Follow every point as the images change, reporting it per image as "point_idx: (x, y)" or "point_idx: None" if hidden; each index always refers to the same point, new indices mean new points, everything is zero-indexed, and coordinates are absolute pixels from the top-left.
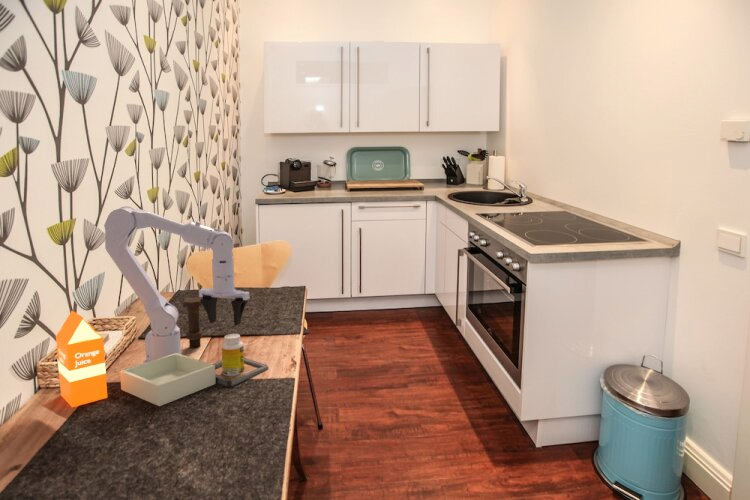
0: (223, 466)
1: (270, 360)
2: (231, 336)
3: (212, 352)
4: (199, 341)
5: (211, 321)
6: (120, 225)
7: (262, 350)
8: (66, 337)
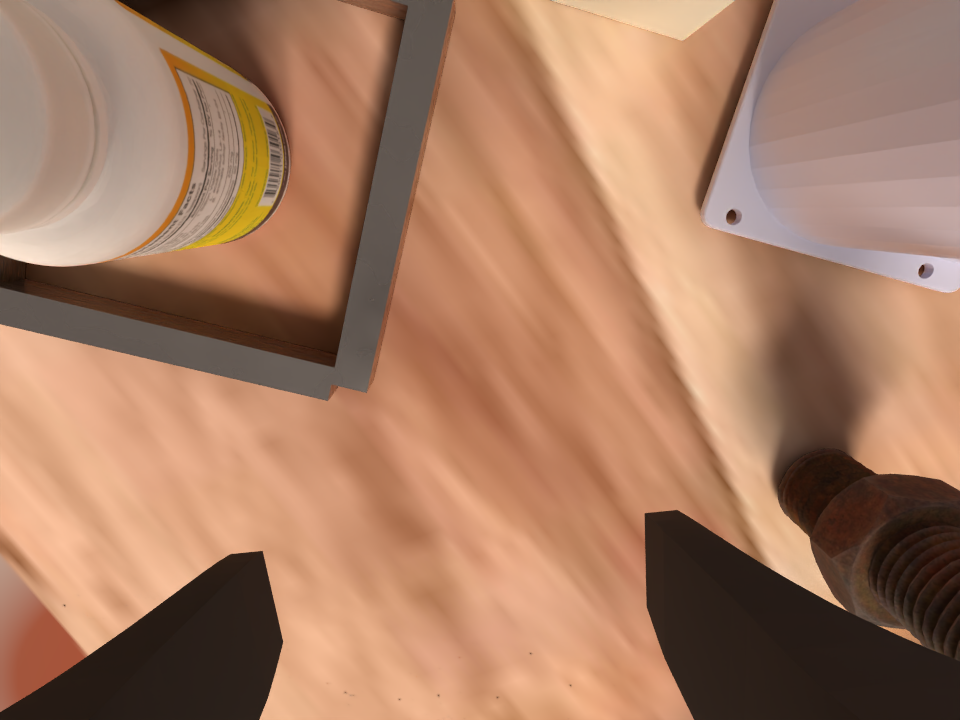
0: None
1: (142, 487)
2: None
3: (646, 471)
4: (810, 519)
5: (656, 520)
6: None
7: (328, 625)
8: None
